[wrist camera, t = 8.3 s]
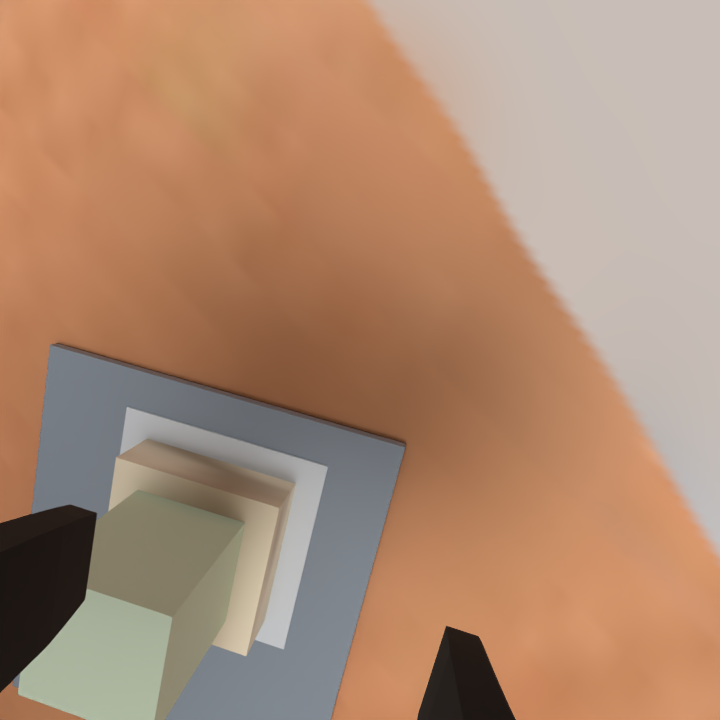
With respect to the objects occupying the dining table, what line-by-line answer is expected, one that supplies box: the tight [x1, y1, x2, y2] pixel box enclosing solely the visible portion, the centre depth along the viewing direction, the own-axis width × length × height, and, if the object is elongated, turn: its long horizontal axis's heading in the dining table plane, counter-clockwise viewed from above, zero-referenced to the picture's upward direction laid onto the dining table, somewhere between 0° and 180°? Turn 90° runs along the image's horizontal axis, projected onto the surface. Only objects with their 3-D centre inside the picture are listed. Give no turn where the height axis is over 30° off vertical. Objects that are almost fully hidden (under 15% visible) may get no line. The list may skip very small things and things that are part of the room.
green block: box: [18, 490, 245, 720], centre depth 17 cm, size 4×4×5 cm
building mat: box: [13, 343, 406, 720], centre depth 22 cm, size 14×16×1 cm
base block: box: [108, 439, 296, 656], centre depth 20 cm, size 6×6×2 cm
